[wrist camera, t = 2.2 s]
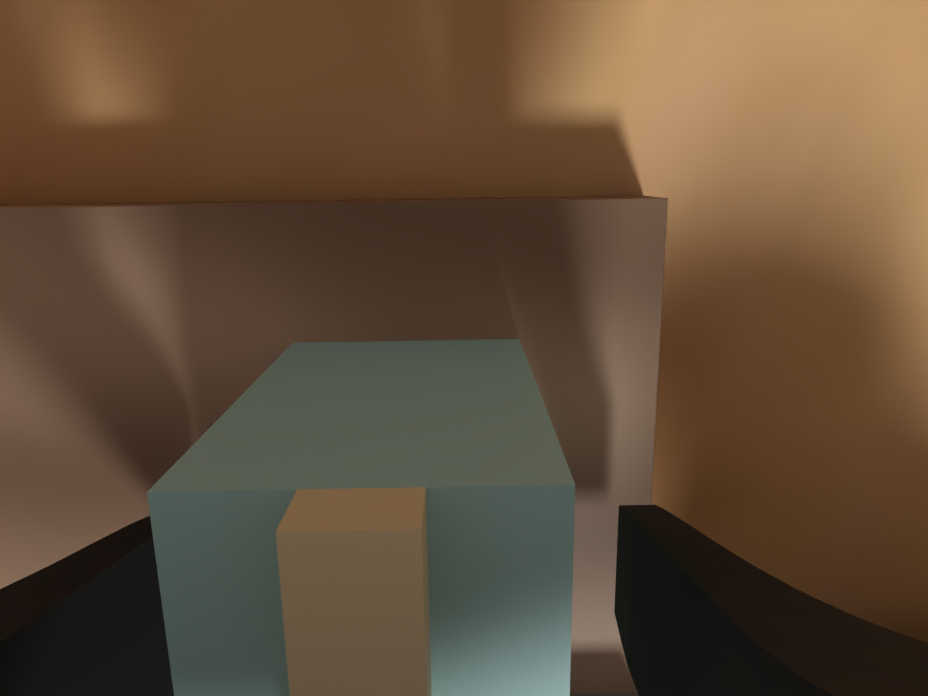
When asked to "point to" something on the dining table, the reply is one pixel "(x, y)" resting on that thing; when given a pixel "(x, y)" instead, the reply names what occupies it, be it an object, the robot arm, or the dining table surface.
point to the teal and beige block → (372, 530)
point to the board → (317, 320)
